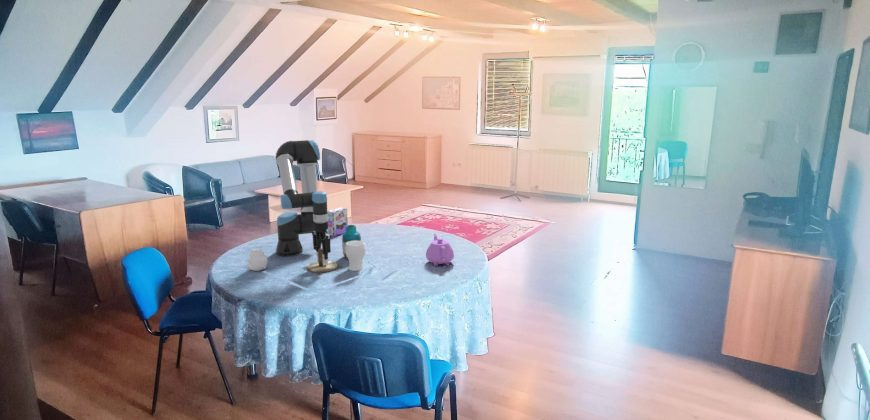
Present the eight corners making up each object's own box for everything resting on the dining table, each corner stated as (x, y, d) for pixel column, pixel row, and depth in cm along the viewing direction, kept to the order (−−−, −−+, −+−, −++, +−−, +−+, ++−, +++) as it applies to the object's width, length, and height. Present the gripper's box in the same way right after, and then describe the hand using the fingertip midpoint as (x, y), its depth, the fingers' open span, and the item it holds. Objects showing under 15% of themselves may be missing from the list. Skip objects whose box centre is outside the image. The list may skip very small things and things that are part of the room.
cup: (364, 273, 278) (363, 246, 275) (344, 273, 279) (343, 246, 275) (367, 266, 289) (366, 240, 285) (347, 266, 289) (346, 240, 285)
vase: (357, 262, 296) (356, 229, 291) (339, 260, 298) (338, 227, 293) (364, 256, 306) (363, 224, 301) (346, 255, 308) (345, 223, 304)
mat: (301, 269, 284) (301, 268, 283) (325, 262, 295) (325, 260, 295) (320, 276, 274) (319, 275, 273) (344, 268, 285) (344, 267, 285)
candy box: (333, 236, 344) (332, 212, 340) (327, 235, 347) (325, 210, 343) (348, 232, 355) (347, 208, 351) (341, 230, 358) (340, 206, 354)
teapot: (421, 257, 305) (421, 233, 302) (447, 255, 309) (448, 232, 305) (430, 269, 284) (430, 245, 281) (458, 267, 288) (458, 243, 285)
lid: (302, 267, 284) (301, 249, 281) (325, 261, 295) (324, 243, 292) (320, 274, 274) (319, 255, 272) (342, 267, 285) (342, 248, 283)
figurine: (272, 268, 286) (270, 246, 284) (260, 274, 277) (259, 252, 275) (256, 266, 290) (254, 244, 287) (244, 271, 281) (243, 250, 278)
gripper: (304, 220, 281) (307, 262, 286) (324, 225, 270) (327, 269, 276) (316, 217, 286) (318, 258, 292) (336, 222, 276) (338, 265, 281)
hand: (322, 263), depth 284 cm, fingers closed on lid, 4 cm apart
